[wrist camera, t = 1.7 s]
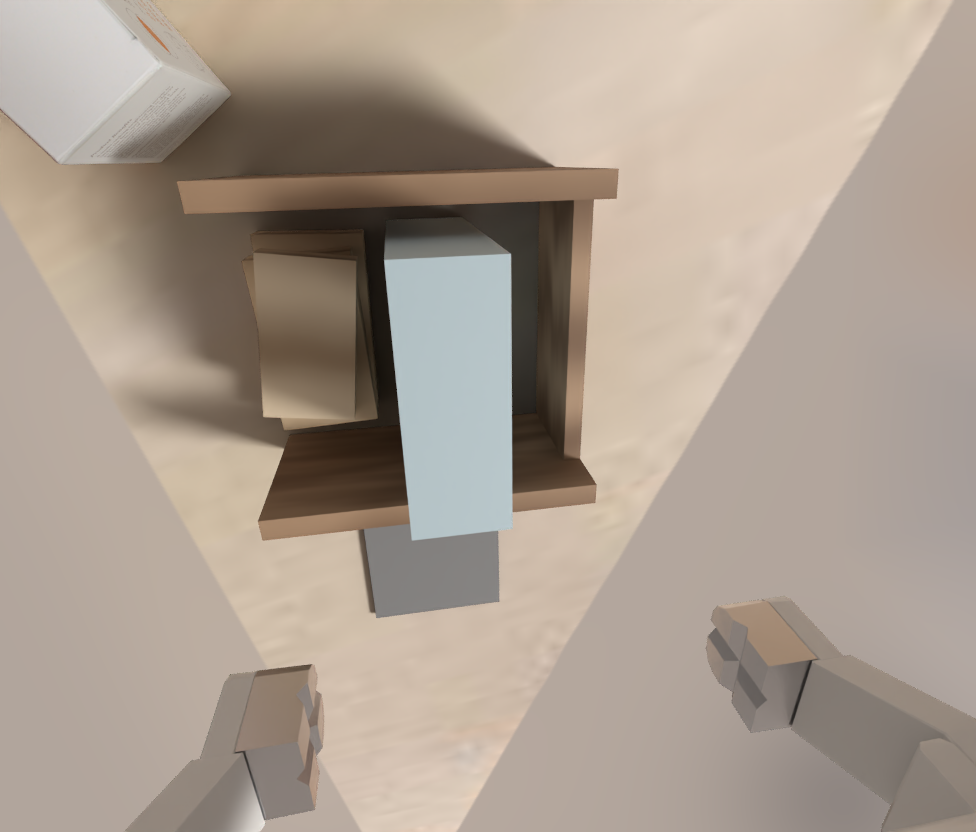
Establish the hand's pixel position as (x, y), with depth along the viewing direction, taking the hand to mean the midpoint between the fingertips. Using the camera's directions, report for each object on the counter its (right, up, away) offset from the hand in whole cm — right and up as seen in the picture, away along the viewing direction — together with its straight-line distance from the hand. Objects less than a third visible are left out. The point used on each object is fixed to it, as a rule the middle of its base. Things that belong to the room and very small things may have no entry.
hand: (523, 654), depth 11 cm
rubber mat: (-5, -4, +31) cm, 32 cm away
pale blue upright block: (-4, +11, +24) cm, 27 cm away
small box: (-19, +23, +17) cm, 34 cm away
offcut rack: (-5, +11, +24) cm, 27 cm away
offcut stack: (-11, +11, +24) cm, 28 cm away
